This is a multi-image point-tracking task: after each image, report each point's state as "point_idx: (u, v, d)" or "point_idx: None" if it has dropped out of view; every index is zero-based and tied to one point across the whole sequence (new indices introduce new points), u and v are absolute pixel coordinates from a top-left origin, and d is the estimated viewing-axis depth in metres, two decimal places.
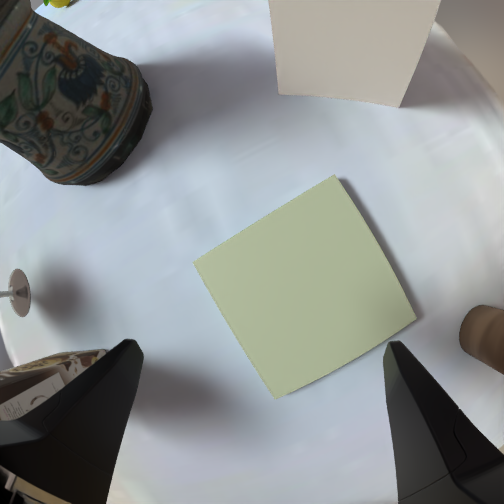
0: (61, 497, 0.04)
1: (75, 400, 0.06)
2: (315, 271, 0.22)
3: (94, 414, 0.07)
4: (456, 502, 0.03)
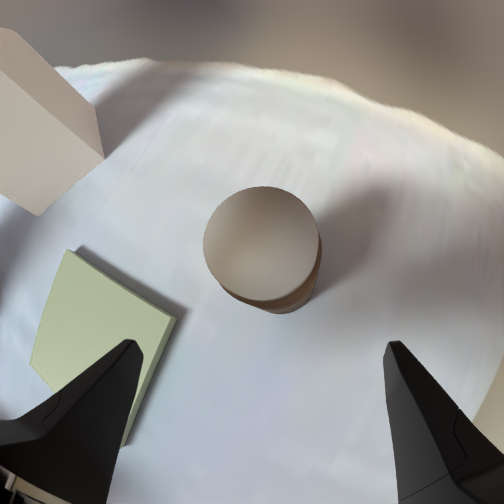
0: (61, 497, 0.04)
1: (75, 400, 0.06)
2: (79, 328, 0.21)
3: (94, 414, 0.07)
4: (456, 502, 0.03)
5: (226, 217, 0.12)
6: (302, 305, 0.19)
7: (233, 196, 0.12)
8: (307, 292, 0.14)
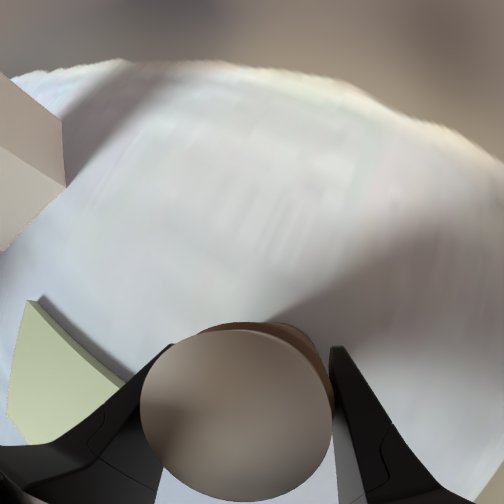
0: None
1: (124, 416, 0.06)
2: (46, 393, 0.16)
3: None
4: None
5: (171, 382, 0.06)
6: None
7: (181, 344, 0.06)
8: None
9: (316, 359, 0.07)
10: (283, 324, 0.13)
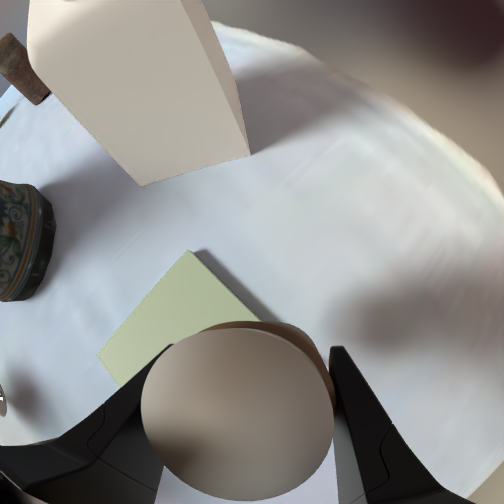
0: None
1: (124, 416, 0.06)
2: None
3: (143, 429, 0.06)
4: None
5: (173, 380, 0.06)
6: None
7: (182, 342, 0.06)
8: None
9: (317, 358, 0.07)
10: (284, 323, 0.13)
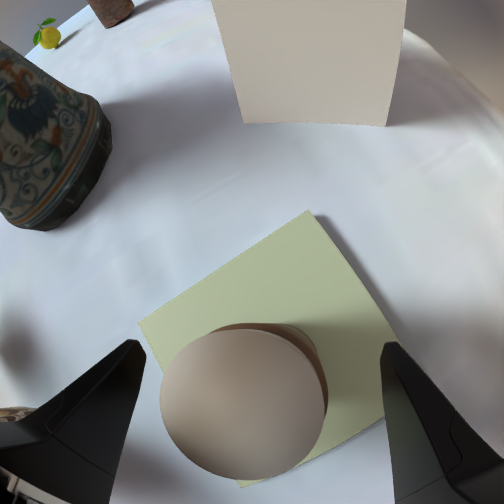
0: (64, 499, 0.04)
1: (78, 401, 0.06)
2: None
3: (97, 415, 0.07)
4: None
5: (188, 374, 0.07)
6: None
7: (197, 341, 0.07)
8: None
9: (312, 354, 0.08)
10: None
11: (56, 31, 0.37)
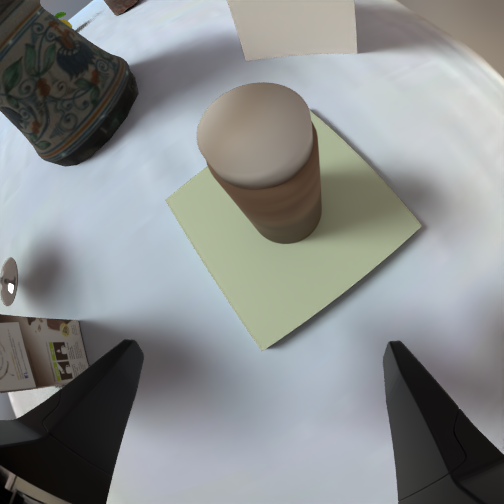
0: (61, 497, 0.04)
1: (75, 400, 0.06)
2: None
3: (94, 414, 0.07)
4: (456, 502, 0.03)
5: (218, 111, 0.11)
6: (310, 231, 0.18)
7: (224, 94, 0.11)
8: (311, 194, 0.13)
9: None
10: None
11: (67, 23, 0.41)
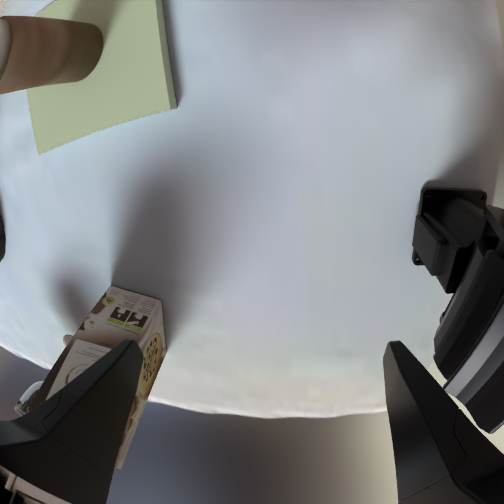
0: (61, 497, 0.04)
1: (75, 400, 0.06)
2: None
3: (94, 414, 0.07)
4: (456, 502, 0.03)
5: None
6: (99, 35, 0.13)
7: None
8: (44, 26, 0.08)
9: None
10: None
11: None
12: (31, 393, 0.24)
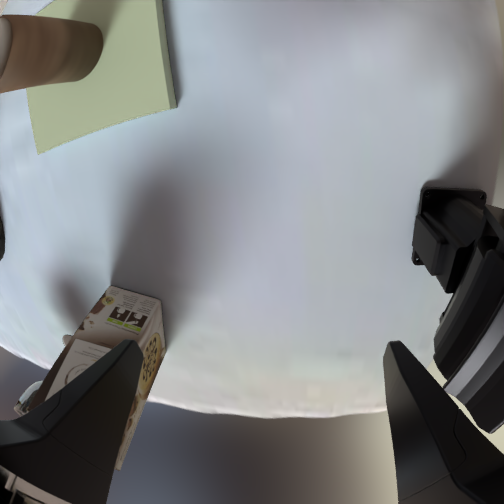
0: (61, 497, 0.04)
1: (75, 400, 0.06)
2: None
3: (94, 414, 0.07)
4: (456, 502, 0.03)
5: None
6: (98, 35, 0.13)
7: None
8: (45, 24, 0.08)
9: None
10: None
11: None
12: (31, 393, 0.24)
